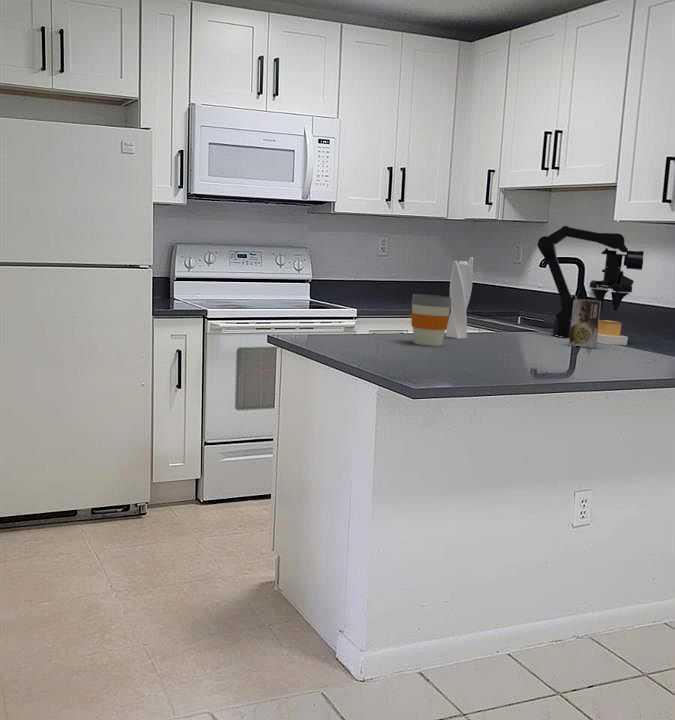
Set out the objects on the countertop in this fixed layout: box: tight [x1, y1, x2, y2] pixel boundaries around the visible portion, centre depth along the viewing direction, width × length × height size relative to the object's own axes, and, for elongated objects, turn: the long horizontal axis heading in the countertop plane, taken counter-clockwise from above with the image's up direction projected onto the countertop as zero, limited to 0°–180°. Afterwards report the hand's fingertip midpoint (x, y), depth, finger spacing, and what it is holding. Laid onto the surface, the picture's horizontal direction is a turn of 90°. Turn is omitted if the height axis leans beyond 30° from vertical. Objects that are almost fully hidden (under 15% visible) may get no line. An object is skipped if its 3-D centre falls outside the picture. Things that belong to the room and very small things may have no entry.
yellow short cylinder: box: [598, 319, 622, 336], centre depth 314 cm, size 6×6×5 cm
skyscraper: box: [444, 256, 474, 340], centre depth 292 cm, size 8×8×28 cm
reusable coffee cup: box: [410, 293, 451, 347], centre depth 268 cm, size 13×12×15 cm
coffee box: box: [568, 298, 601, 349], centre depth 295 cm, size 9×6×16 cm
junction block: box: [597, 334, 629, 346], centre depth 314 cm, size 10×10×7 cm
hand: (607, 309), depth 318 cm, fingers open, 9 cm apart
